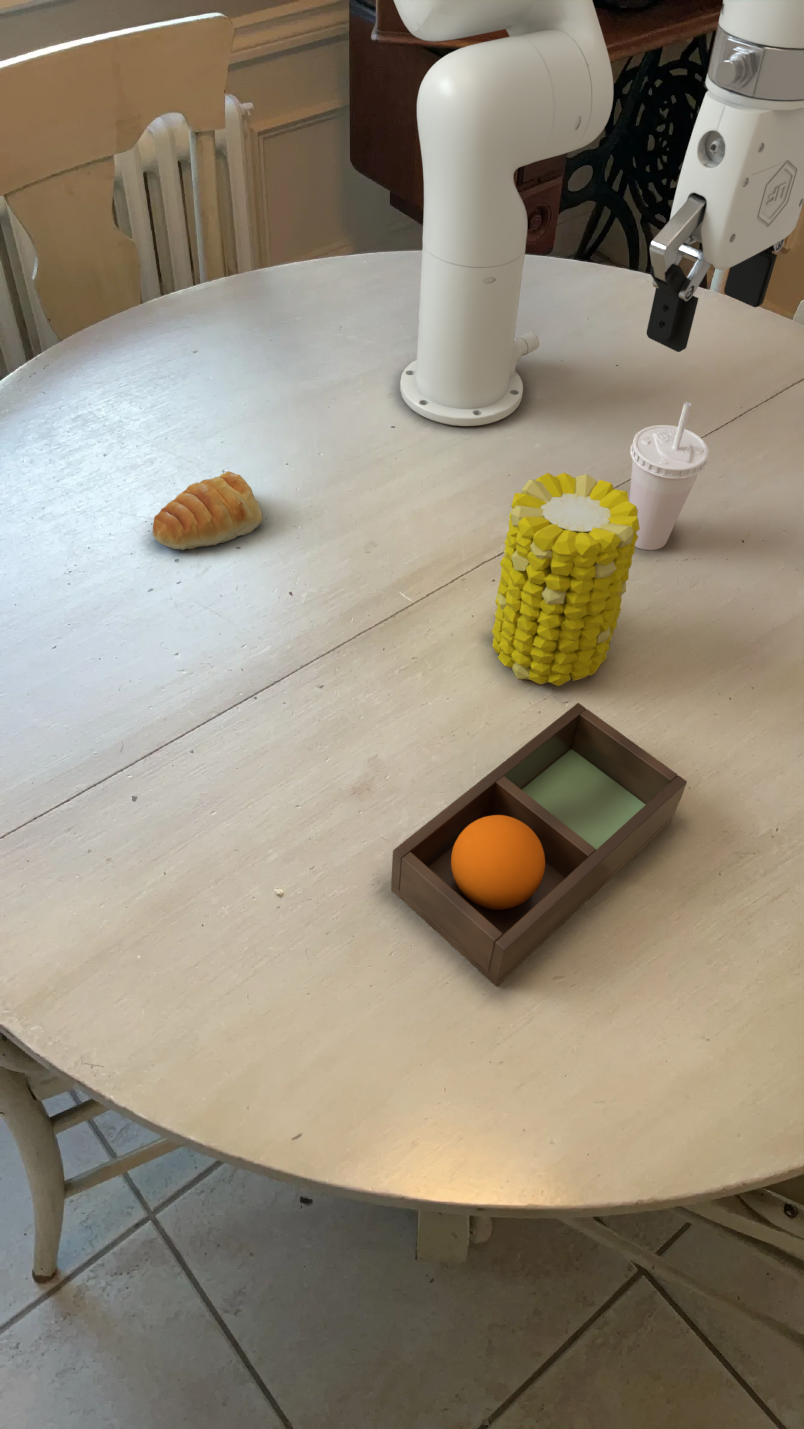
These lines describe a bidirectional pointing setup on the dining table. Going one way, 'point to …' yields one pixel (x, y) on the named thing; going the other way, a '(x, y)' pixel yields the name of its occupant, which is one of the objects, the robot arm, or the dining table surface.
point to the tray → (542, 836)
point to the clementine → (498, 862)
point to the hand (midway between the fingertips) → (704, 320)
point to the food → (563, 577)
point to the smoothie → (663, 477)
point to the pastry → (208, 513)
